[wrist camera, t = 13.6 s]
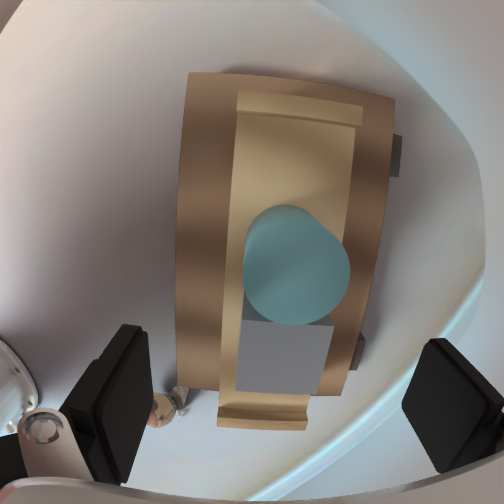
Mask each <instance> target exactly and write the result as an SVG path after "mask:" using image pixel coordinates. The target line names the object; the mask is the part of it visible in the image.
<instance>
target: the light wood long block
mask: <svg viewBox="0 0 504 504" xmlns="http://www.w3.org/2000/svg"><path fill="white" fill-rule="evenodd" d="M237 113H238V114H237V125H236V136H235V147H234V159H233V171H232V183H231V196H230V209H229V223H228V237H227V252H226V267H225V283H224V300H223V318H222V338H221V359H220V382H219V407H218V415H217V427H227V428H240V429H257V430H305V429H306V426H307V423H308V419H307V414H306V410H307V406H308V402H309V399H310V395H299V394H274V393H257V392H244V391H235V381H236V368H237V356H238V344H239V334H240V324H241V314H242V304H243V294H244V287H243V280H242V273H243V262H244V252H245V242H246V235H247V232H248V229H249V227H250V225H251V223H252V222H253V220H254V219H255V218H256V217H257V216H258V215H259V214H260V213H261V212H263V211H264V210H266V209H268V208H270V207H273V206H277V205H293V206H296V207H299V208H302V209H304V210H305V211H307V212H308V213H309V214H311V215H312V216H313V217H314V218H315V219H316V220H317V221H318V222H320V223H321V224H322V225H323V226H324V227H325V228H326V229H327V230H328V231H330V232H331V233H332V234H333V235H334V236H335V237H336V238H337V239H338V240H339V241H340V243H341V244H342V240H343V234H344V227H345V220H346V213H347V205H348V197H349V189H350V180H351V171H352V161H353V151H354V139H355V128H358V127H361V126H362V115H363V107H360V106H355V105H350V104H345V103H340V102H334V101H328V100H322V99H316V98H309V97H302V96H295V95H286V94H278V93H268V92H257V91H243V90H238V100H237Z"/></svg>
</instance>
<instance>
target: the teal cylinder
mask: <svg viewBox="0 0 504 504" xmlns="http://www.w3.org/2000/svg"><path fill="white" fill-rule="evenodd" d="M349 279H350V264H349V259H348V255H347V253H346V251H345V249H344V247H343V245H342V244H341V243H340V241H339V240H338V239H337V238H336V237H335V236H334V235H333V234H332V233H331V232H330V231H328V230H327V229H326V228H325V227H324V226H323V225H322V224H321V223H320V222H318V221H317V220H316V219H315V218H314V217H313V216H312V215H311V214H309V213H308V212H307V211H305V210H304V209H302V208H299V207H296V206H293V205H277V206H273V207H270V208H268V209H266V210H264V211H263V212H261V213H260V214H259V215H258V216H257V217H256V218H255V219H254V220H253V222H252V223H251V225H250V227H249V229H248V232H247V235H246V242H245V252H244V262H243V273H242V280H243V287H244V291H245V294H246V296H247V298H248V300H249V302H250V303H251V305H252V306H253V307H254V309H255V310H256V311H258V312H259V313H260V314H261V315H262V316H264V317H265V318H267V319H269V320H271V321H273V322H276V323H279V324H284V325H303V324H308V323H311V322H314V321H317V320H319V319H321V318H323V317H324V316H326V315H327V314H329V313H330V312H331V311H332V310H333V309H334V308H335V307H336V306H337V305H338V304H339V302H340V301H341V300H342V298H343V296H344V295H345V292H346V290H347V287H348V284H349Z"/></svg>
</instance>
